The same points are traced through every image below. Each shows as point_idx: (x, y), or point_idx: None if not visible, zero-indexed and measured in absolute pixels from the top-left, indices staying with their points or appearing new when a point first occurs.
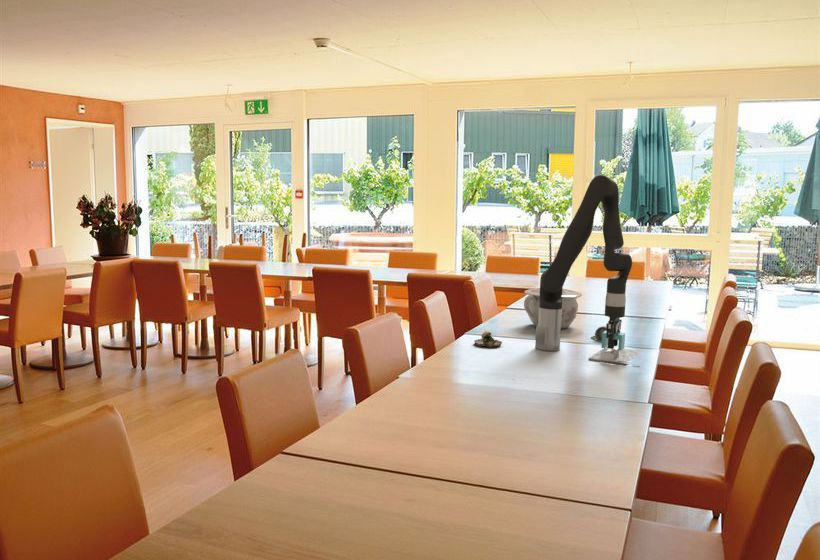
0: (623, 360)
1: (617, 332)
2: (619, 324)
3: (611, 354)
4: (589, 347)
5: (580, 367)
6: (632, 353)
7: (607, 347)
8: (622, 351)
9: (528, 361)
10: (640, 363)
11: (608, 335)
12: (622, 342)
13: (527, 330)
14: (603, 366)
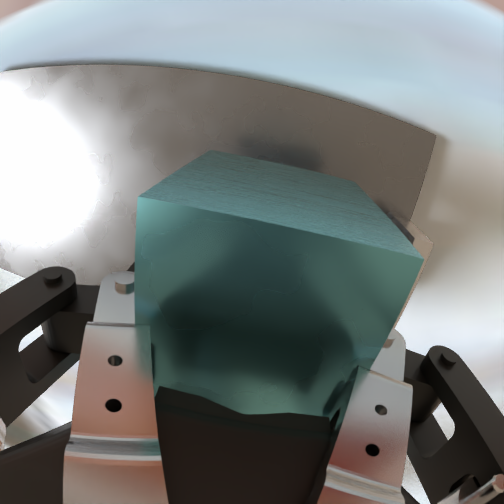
0: (342, 139)
1: (166, 336)
2: (164, 485)
3: (423, 257)
4: (35, 335)
5: (484, 358)
6: (58, 99)
7: (11, 264)
8: (40, 172)
9: (403, 475)
10: (287, 13)
11: (432, 414)
12: (323, 192)
13: (12, 441)
14: (464, 269)
